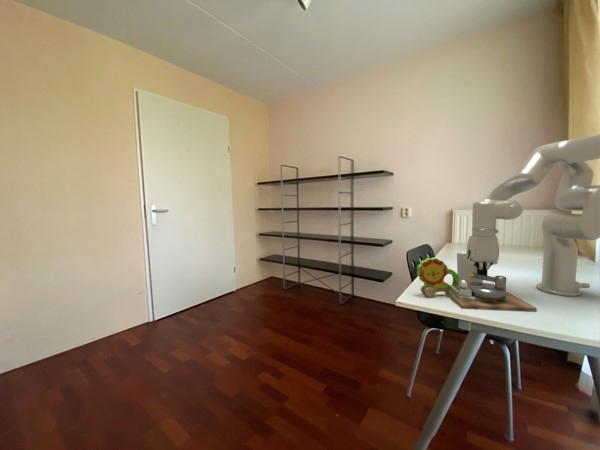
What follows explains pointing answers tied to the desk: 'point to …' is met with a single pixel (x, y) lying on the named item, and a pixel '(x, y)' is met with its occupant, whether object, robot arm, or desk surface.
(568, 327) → the desk surface
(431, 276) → the toy lion
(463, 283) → the block with glass ball
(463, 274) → the skincare box
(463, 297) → the stand
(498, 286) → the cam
